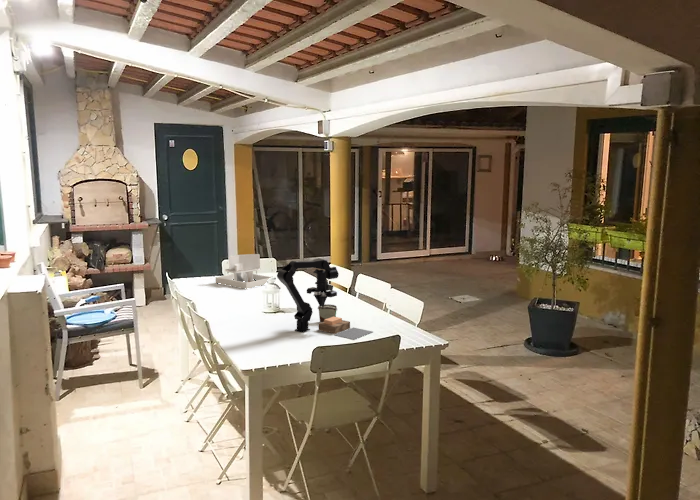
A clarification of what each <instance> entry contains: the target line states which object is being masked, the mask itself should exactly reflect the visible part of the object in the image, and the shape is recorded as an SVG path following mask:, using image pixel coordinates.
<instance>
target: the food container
mask: <svg viewBox="0 0 700 500" xmlns="http://www.w3.org/2000/svg"><path fill="white" fill-rule="evenodd" d="M317 310H318V316H319V323H322V322H324V320H325V319H328V318H331V317H337V311H338V307H337V305H335V304H327V303H325V304H324V306H323V307H322V306H321V307H320V305H319V304H318V307H317Z"/></svg>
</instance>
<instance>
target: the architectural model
mask: <svg viewBox="0 0 700 500" xmlns="http://www.w3.org/2000/svg"><path fill="white" fill-rule="evenodd" d="M260 255H261V254H260V253H257V254H256V253H251V254H250V253H247V254H234V255H228V264H229V265H228V266H229V268H226V269H225V270H224V271H225V272H227V273H231V274H234V281H240V282H243V281H245V283H247V282H252V281H254V280H253V274H254V272H255V274H256V281H257V275H258V271H260V270H261V258H260V257H261V256H260Z"/></svg>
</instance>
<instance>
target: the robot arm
mask: <svg viewBox="0 0 700 500" xmlns="http://www.w3.org/2000/svg"><path fill="white" fill-rule="evenodd" d="M311 268H313V269H315V270H314V271H312V272H313V274H316V281H315V283H314V284H315V285H316V287H314V286H312V287H311V286H310V287H308V288H307V289H306V294H308V295H311V294H312V293H313V297H314V298H315V300H316V301H317V303H318V306H319V305H320V307H321V306H322V307H323V306H324V305H325V304H326V300H327V298H333V297H337V296H338V292H337V291H336V290H333V288H334V285H332V284H329V281H327V280H334V279H338V278H339V272H338V269H337V267H336V266H332V267H331V266H330V265H329V262H328V260H327V259H324V258H315V259H313V260H291V261H289V263H287V264H286V265H285V266H283V267H282V268H281V269H280V270H278V272H277V274H276V277H277V279H278V280H279V282H280V283H282V284H283V285H284V286H285V288H286V290H287V291H288V293H289V294H290V296H291V298H292V300H293V302H294V303H295V305H296V310H297V312H295V314H294V315H293V316H294V319H295V320H296V328H295V329H294V331H296V332H299V333H305V332H308V331H310V330H311V329H310V328H309V322H310V321H311V318H312V315H313V313H314V312H313V308H312V306H311V304H310V303H309V302H306V301H304V299H303V297H302V296H301V294H300V292H299V290H298V288H297V287H296V285H295V283H294V277H293V276H295V274H296V271H297V270H298V269H311Z"/></svg>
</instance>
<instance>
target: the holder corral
mask: <svg viewBox="0 0 700 500" xmlns="http://www.w3.org/2000/svg"><path fill="white" fill-rule="evenodd" d="M271 277H272V276H269V275H261V274H257V281H255V280H253V281H252V282H247V283H245V282H240V281H234V280H232V279H234V273H231V274H227V275H221V276H217V277H215V284H216V283H221V284H226V285H231V286H236V287H241V288H246V289H245V290H248V289H247V288H251V289H253V288H252V287H255V286H260V285H264V284H265V283H266V282H267V280H268V279H269V278H271ZM253 279H256V273H253ZM221 284H220V285H221ZM226 285H225V286H226ZM231 286H230V287H231ZM264 286H265V285H264ZM236 287H235V288H236ZM260 287H261V286H260ZM241 288H240V289H241ZM255 288H256V287H255Z"/></svg>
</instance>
